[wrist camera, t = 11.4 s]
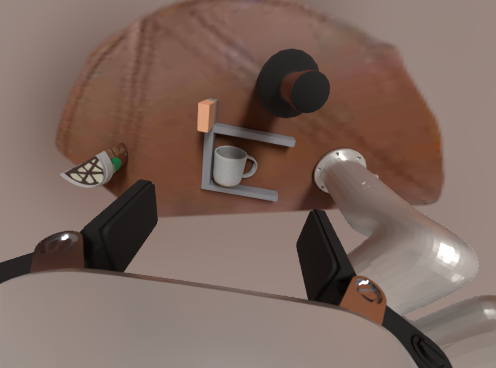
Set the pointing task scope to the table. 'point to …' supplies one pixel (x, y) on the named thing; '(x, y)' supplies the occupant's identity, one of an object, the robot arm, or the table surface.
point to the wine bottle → (292, 84)
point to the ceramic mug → (231, 166)
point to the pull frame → (211, 127)
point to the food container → (98, 167)
